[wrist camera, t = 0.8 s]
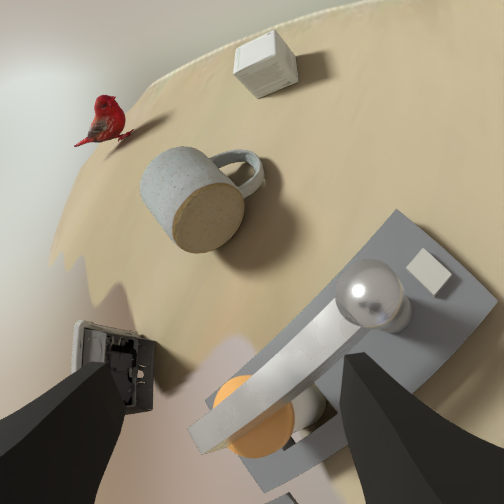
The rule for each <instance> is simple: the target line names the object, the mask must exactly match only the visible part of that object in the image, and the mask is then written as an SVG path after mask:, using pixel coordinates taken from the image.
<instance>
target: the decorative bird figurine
mask: <svg viewBox="0 0 504 504" xmlns="http://www.w3.org/2000/svg"><path fill="white" fill-rule="evenodd" d="M115 98H116V97H114V96H112V97H111V96H108V95H101V96H99V97H98V98H97V100H96V102H95V107H94V108H95V118H94V120H93V122H92V124H91V126H90V129H89V132H88V137H86V138H85V139H83V140H82V141H81V142H79V143H77V144H76V145H75V146H74V147H77V146H80V145H83V144H85V143H89V142H103V141H107V140H111V139H114V138H119V137H120V138H119V139H118V142H119V140H122V139H124V138H125V137H127V136H129V135H130V133H131V132H132V131H133V130H134V129H133V130H131V131H130V132H127V133H126V134H122V135H119V134H120V133H121V132H122V130H123V129H124V126H125V114H124V112H123V110H122V109H121V108H120V107H119V105H118V103H117V102H116V101H115V100H114V99H115Z"/></svg>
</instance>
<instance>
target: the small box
mask: <svg viewBox="0 0 504 504" xmlns="http://www.w3.org/2000/svg"><path fill="white" fill-rule="evenodd" d="M233 75H234V76H235V77H236V78H237V79H238V80H239V81H240V82H241V83H242V84H243V85H244V86H245V87H246V88H247V89H248V90H249V91H250V92H251V93H252V94H253V95H254V96H255V97H256V98H257V99H259V98H261V97H263V96H266V95H268V94H270V93H273V92H275V91H278V90H280V89H282V88H285V87H287V86H290V85H293V84H295V83H298V81H299V80H298V71H297V64H296V57H295V55H294V54H293V52H292V51H291V50H290V48H289V47H288V46H287V44H286V43H285V42H284V40H283V39H282V38H281V37H280V35H279V34H278V33H277V32H276V31H275V30H273V31H271V32H268V33H266V34H264V35H262V36H260V37H258V38H256V39H254V40H252V41H250V42H248V43H246V44H244V45H242V46H241V47H239V48H237V49H236V53H235V62H234V71H233Z"/></svg>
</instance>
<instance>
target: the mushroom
mask: <svg viewBox="0 0 504 504" xmlns="http://www.w3.org/2000/svg"><path fill="white" fill-rule="evenodd" d="M251 376H252V375H243V376H237V377H235V378H232V379H230V380H229V381H227V382H226V383H225V384H224V385H223V386H222V387H221V388H220V390H219V391H218V393H217V395H216V398H215V401H214V405H213V408H214V407H216V406H217V405H218V404H219V403H221V402H222V401H223V400H224V399H225V398H227V397H228V396H229V395H230V394H231V393H233V392H234V391H235V390H236V389H237V388H239V387H240V386H241V385H242V384H243V383H244V382H246V381H247V380H248V379H249V378H250V377H251ZM325 407H326V398H325V396H324V395H323V393H322V392H321V391H320V389H319V388H318V387H317V385H316V384H315V383H313V384H312V385H310V386H309V387H308V388H307V389H306V390H304V391H303V392H302V393H301V394H299V395H298V396H297V397H296V398H294V399H293V400H292V401H291V402H289V403H288V404H287V405H286V406H284V407H283V408H282V409H280V410H279V411H278V412H276V413H275V414H274V415H272V416H271V417H270V418H268V419H267V420H266V421H264V422H263V423H262V424H260V425H259V426H257V427H256V428H255V429H253V430H252V431H250V432H249V433H247V434H246V435H245V436H243V437H242V438H240V439H239V440H237V441H236V442H234V443H233V444H231V445H230V446H228V448H229V449H230V450H231V451H233V452H234V453H236V454H238V455H240V456H242V457H246V458H252V459H253V458H262V457H265V456H268V455H270V454H272V453H274V452H276V451H278V450H280V449H281V448H282V447H283V446H284V445H285V444H286V443H287V442H288V440H289V439H290V437H291V435H292V433H294V432H296V431H299V430H301V429H303V428H305V427H307V426H309V425H311V424H313V423H315V422H316V421H318V420H319V419H320V418H321V416H322V415H323V413H324V411H325Z"/></svg>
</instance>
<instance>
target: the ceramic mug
mask: <svg viewBox="0 0 504 504" xmlns="http://www.w3.org/2000/svg"><path fill="white" fill-rule="evenodd" d="M235 162H247V163H249V164H250V165H251V166H252V167H254V171H255V172H256V173H255V174H254V176H253V177H252V178H250V179H249V180H248V181H247V182H245V183H243V184H242V185H241V186H239V187H237V186H236V185H235V184H234V183H233V182H232V181H231V180H230V179H229V178H228V177H227V176H226V175H225V174H224V173H223V172H222V171H221V170H220V169H219V168H221V167H223V166H225V165H228V164H231V163H235ZM264 176H265V173H264V169H263V165H262V162H261V160H260V158H259V157H258V156H257V155H256V154H255V153H253V152H251V151H248V150H242V149H238V150H231V151H227V152H223V153H220V154H218V155H215V156H213V157H211V158H208V157H207V156H206V155H205V154H204V153H202V152H201V151H199V150H197V149H195V148H192V147H184V146H181V147H176V148H172V149H169V150H167V151H165V152H163V153H161V154H159V155H158V156H157V157H155V158H154V159H153V160H152V161H151V162H150V164H149V165H148V166H147V167H146V169H145V171H144V173H143V175H142V178H141V182H140V194H141V198H142V200H143V202H144V204H145V205H146V206H147V208H148V209H149V210H150V212H151V213H152V215H153V216H154V217H155V219H156V220H157V222H158V223H159V224H160V225H161V227H162V228H163V229H164V231H165V232H166V234H167V235H168V236H169V238H170V239H171V240H172V241H173V242H174V243H175V244H176V245H177V246H179V247H180V248H181V249H183V250H185V251H187V252H190V253H205V252H209V251H212V250H214V249H216V248H218V247H220V246H222V245H223V244H225V243H226V242H227V241H228V240H229V239H230V238H231V237H232V236H233V235H234V234H235V233H236V231H237V230H238V228H239V226H240V224H241V222H242V219H243V216H244V212H245V204H244V200H243V199H244V198H246V197H248V196H250V195H251V194H253V193H254V192H255V191H256V190H257V189H258V188H259V186H261V184H262V183H263V180H264Z"/></svg>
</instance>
